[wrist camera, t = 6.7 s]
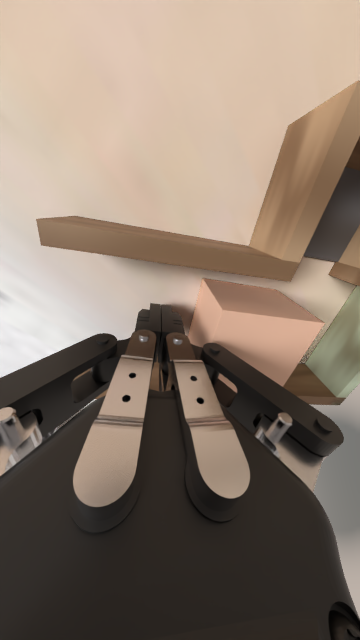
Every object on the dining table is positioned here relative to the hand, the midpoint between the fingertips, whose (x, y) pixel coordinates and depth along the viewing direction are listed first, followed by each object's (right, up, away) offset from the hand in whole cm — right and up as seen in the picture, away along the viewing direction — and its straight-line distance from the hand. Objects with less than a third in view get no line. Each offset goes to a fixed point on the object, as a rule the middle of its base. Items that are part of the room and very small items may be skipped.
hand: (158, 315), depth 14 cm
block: (+6, 0, +2) cm, 6 cm away
